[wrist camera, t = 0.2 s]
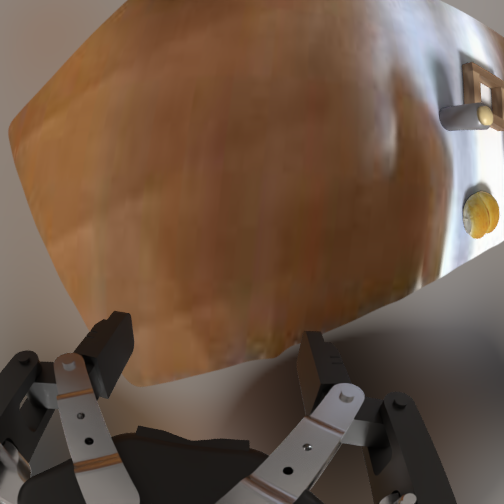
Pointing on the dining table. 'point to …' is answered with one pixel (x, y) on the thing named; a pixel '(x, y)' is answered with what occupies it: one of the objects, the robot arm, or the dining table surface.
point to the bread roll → (480, 214)
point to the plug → (466, 117)
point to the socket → (472, 92)
